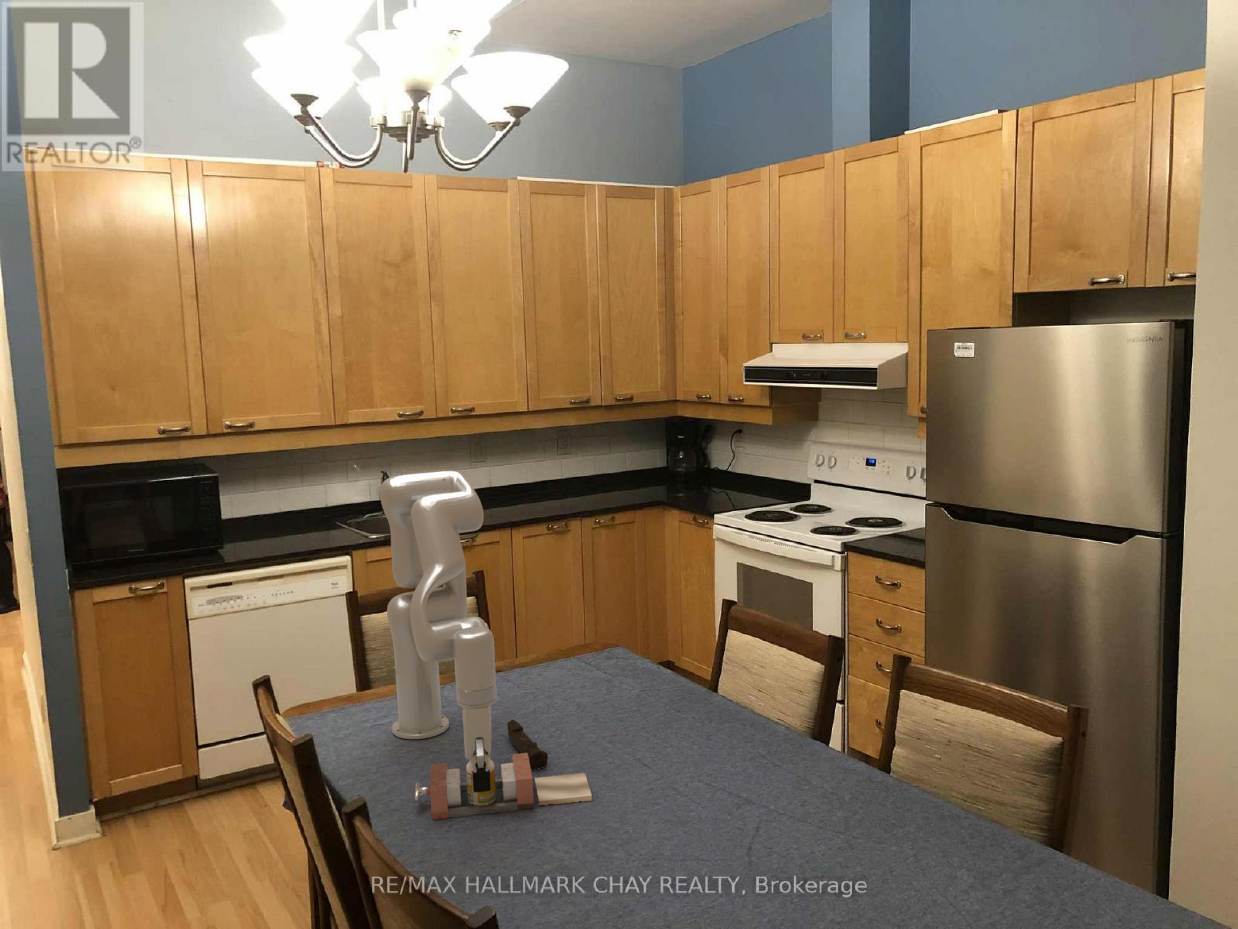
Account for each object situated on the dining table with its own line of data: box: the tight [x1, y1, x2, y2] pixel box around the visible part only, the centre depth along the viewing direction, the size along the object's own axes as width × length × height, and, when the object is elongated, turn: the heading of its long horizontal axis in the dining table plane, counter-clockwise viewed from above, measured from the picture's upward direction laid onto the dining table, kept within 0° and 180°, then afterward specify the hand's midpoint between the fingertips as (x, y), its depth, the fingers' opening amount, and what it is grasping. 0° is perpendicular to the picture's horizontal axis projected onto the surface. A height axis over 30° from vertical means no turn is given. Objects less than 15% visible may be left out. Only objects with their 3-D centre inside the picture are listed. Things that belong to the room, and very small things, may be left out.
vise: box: [414, 752, 535, 820], centre depth 194 cm, size 12×22×6 cm, turn 99°
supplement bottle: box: [465, 751, 497, 806], centre depth 194 cm, size 5×5×10 cm
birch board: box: [534, 772, 593, 807], centre depth 197 cm, size 10×10×1 cm
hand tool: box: [506, 719, 549, 771], centre depth 216 cm, size 19×4×5 cm, turn 22°
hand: (481, 779), depth 194 cm, fingers open, 9 cm apart
